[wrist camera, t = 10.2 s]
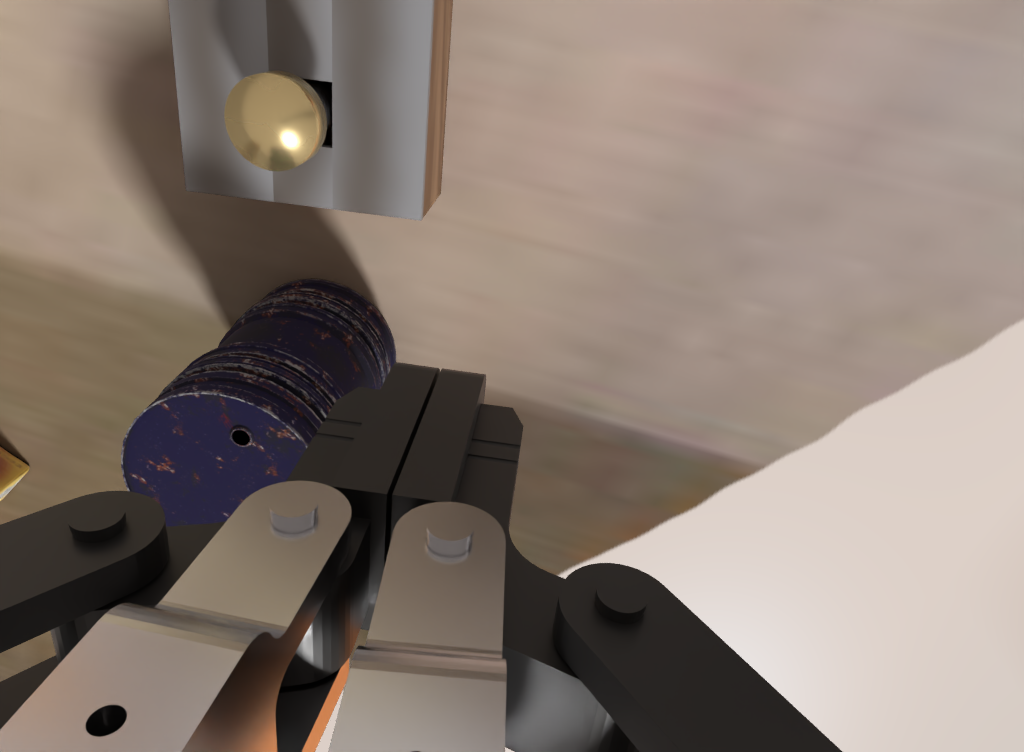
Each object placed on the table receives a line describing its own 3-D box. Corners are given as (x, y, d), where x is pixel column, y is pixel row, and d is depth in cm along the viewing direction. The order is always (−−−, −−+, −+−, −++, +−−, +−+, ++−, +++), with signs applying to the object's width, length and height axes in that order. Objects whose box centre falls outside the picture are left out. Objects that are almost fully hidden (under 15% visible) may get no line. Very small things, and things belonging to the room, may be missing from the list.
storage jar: (365, 439, 50) (289, 595, 37) (228, 378, 49) (99, 517, 36) (421, 319, 46) (359, 447, 33) (273, 249, 45) (145, 352, 31)
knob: (370, 63, 39) (315, 79, 31) (369, 142, 41) (317, 176, 33) (295, 54, 39) (221, 67, 31) (297, 133, 41) (227, 165, 33)
